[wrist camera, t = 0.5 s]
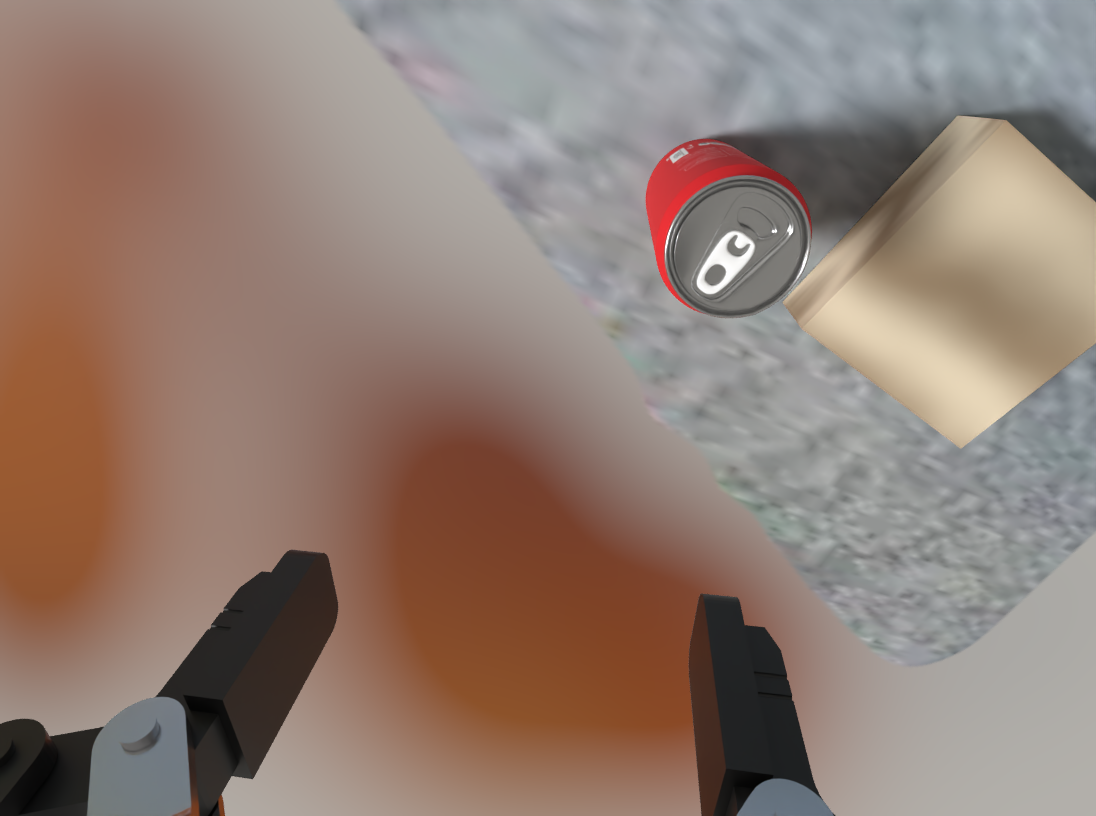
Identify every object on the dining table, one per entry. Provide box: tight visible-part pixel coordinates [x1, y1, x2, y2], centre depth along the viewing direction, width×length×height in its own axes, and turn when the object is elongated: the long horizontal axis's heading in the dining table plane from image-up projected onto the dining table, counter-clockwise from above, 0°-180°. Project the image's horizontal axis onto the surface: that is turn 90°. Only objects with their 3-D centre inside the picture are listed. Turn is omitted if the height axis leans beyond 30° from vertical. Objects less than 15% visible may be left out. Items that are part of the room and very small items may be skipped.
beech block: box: [783, 115, 1096, 448], centre depth 30 cm, size 11×11×4 cm
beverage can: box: [646, 139, 812, 318], centre depth 25 cm, size 5×5×12 cm
